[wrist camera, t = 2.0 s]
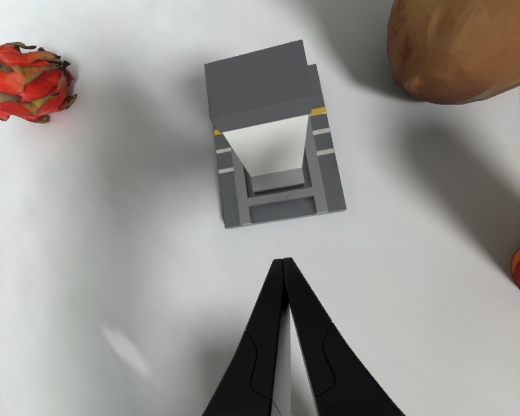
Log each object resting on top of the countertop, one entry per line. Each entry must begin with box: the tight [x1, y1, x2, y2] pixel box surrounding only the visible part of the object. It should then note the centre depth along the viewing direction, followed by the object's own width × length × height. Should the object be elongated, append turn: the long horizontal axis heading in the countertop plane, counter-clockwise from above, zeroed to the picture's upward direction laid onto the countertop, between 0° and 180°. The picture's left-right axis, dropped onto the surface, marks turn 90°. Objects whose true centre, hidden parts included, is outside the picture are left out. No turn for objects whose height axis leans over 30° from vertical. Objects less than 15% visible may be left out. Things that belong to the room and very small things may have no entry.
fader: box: [204, 40, 314, 194], centre depth 17 cm, size 6×5×12 cm
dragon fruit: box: [0, 42, 77, 124], centre depth 26 cm, size 8×8×12 cm
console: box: [214, 64, 346, 229], centre depth 23 cm, size 16×12×2 cm
